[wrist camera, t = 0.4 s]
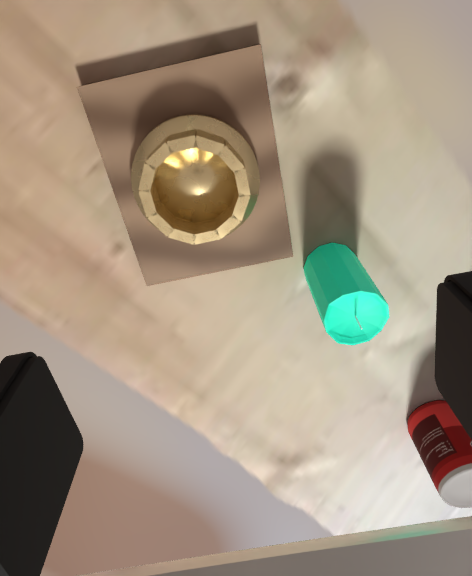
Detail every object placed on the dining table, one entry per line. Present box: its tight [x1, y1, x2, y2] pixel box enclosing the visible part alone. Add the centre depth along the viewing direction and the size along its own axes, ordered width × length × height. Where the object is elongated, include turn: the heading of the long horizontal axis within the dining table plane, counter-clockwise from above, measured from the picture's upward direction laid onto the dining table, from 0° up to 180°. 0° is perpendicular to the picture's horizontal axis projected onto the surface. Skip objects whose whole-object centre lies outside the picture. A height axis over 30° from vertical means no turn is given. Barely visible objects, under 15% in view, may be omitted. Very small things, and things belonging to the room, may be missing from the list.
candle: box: [303, 242, 389, 345], centre depth 44 cm, size 6×6×12 cm
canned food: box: [408, 400, 472, 508], centre depth 57 cm, size 8×8×11 cm
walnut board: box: [77, 44, 293, 286], centre depth 43 cm, size 20×16×2 cm
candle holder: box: [131, 114, 260, 245], centre depth 40 cm, size 12×12×4 cm
